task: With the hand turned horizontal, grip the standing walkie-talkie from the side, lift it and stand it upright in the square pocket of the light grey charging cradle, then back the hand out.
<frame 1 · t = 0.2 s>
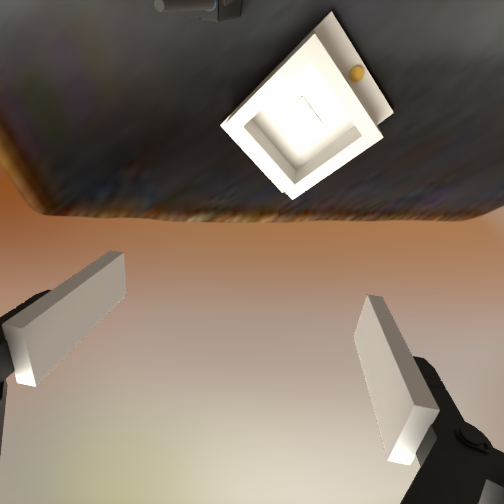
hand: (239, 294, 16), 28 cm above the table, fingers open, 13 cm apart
charging cradle: (302, 116, 36), on the table
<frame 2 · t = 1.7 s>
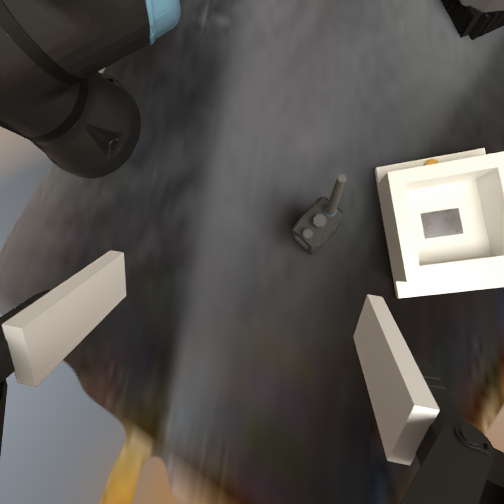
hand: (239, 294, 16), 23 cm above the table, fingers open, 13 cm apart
charging cradle: (437, 225, 36), on the table
walkie-talkie: (314, 235, 39), on the table
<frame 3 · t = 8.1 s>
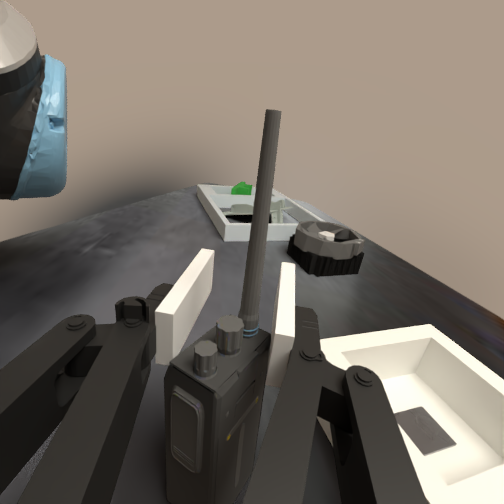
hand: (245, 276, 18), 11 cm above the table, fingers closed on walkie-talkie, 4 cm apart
cpu cooler: (321, 264, 49), on the table
charging cradle: (411, 441, 21), on the table
desk organiser: (253, 215, 68), on the table
walkie-talkie: (210, 485, 18), on the table, touching gripper
metal bracket: (254, 221, 66), resting in desk organiser
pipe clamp: (241, 202, 76), resting in desk organiser
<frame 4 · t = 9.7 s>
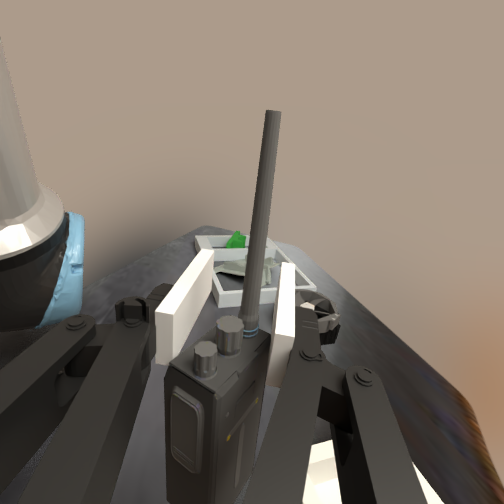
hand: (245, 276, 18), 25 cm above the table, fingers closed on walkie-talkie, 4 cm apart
cpu cooler: (303, 330, 54), on the table
desk organiser: (246, 269, 73), on the table
walkie-talkie: (210, 485, 18), point 13 cm above the table, touching gripper
metal bracket: (245, 275, 71), resting in desk organiser
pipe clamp: (235, 252, 82), resting in desk organiser
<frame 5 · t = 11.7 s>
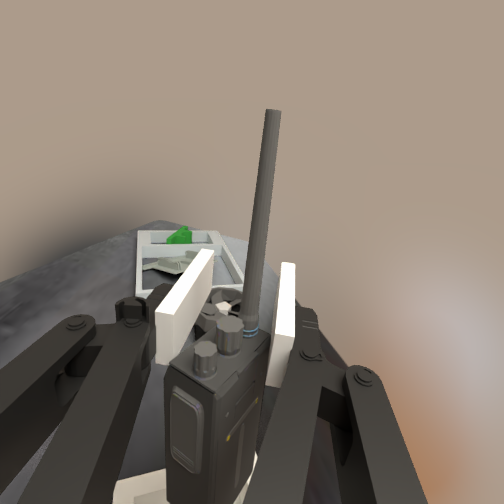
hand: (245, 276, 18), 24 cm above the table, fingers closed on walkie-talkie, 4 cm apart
cpu cooler: (222, 331, 51), on the table
desk organiser: (185, 266, 69), on the table
walkie-talkie: (210, 485, 18), point 13 cm above the table, touching gripper
metal bracket: (182, 273, 67), resting in desk organiser
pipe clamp: (181, 248, 78), resting in desk organiser
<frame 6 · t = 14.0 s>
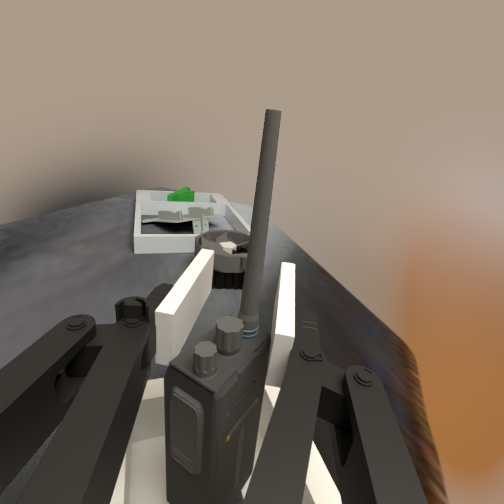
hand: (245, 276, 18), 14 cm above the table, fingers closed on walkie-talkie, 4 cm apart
cpu cooler: (226, 275, 46), on the table
desk organiser: (188, 222, 65), on the table
walkie-talkie: (210, 485, 18), point 2 cm above the table, touching gripper
metal bracket: (184, 228, 63), resting in desk organiser
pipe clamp: (182, 209, 73), resting in desk organiser
when the fingers open (13 cm above the table, at t = 14.6 s): walkie-talkie drops 1 cm, resting on charging cradle.
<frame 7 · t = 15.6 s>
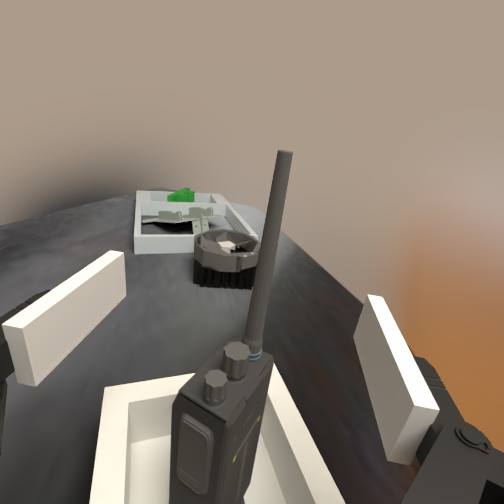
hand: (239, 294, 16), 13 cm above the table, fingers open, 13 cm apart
cpu cooler: (225, 275, 46), on the table
desk organiser: (188, 223, 65), on the table
walkie-talkie: (209, 499, 18), point 1 cm above the table, touching charging cradle
metal bracket: (184, 229, 63), resting in desk organiser
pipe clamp: (182, 210, 73), resting in desk organiser
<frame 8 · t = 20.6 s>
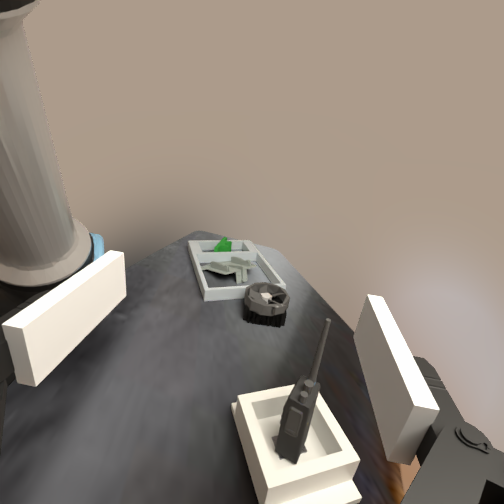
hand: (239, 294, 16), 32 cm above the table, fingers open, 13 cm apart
cpu cooler: (263, 314, 70), on the table
charging cradle: (287, 449, 41), on the table
desk organiser: (230, 269, 87), on the table
walkie-talkie: (289, 445, 41), point 1 cm above the table, touching charging cradle
metal bracket: (228, 274, 86), resting in desk organiser
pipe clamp: (223, 255, 95), resting in desk organiser
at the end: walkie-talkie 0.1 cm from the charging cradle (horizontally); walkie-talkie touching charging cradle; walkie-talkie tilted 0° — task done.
